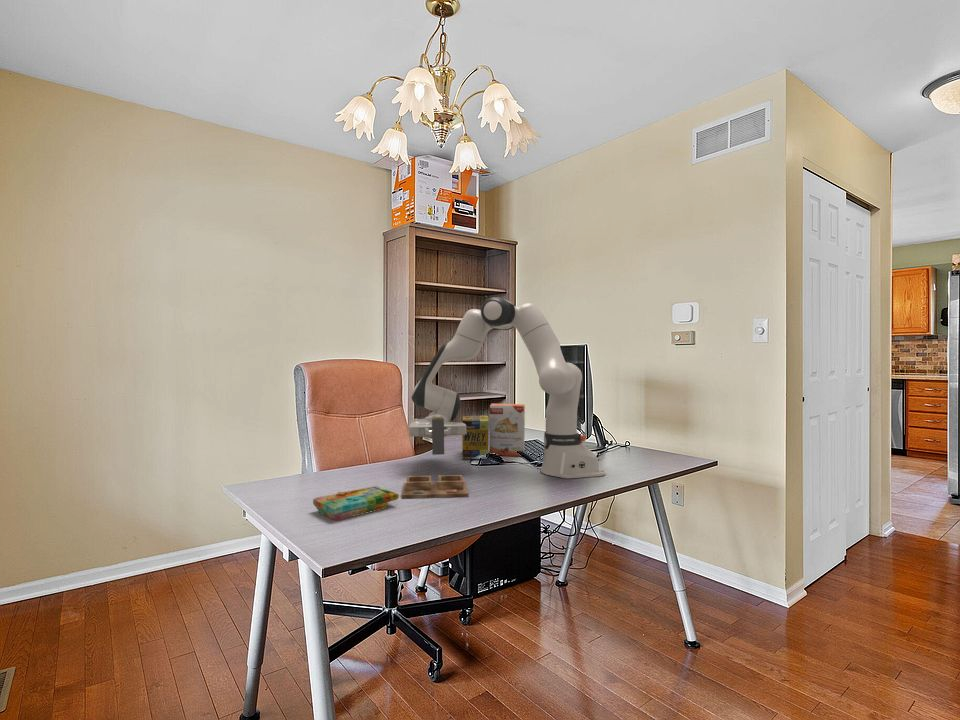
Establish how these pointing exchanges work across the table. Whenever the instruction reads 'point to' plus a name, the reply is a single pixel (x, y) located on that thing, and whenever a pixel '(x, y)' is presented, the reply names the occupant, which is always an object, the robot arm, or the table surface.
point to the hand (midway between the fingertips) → (437, 433)
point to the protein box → (475, 436)
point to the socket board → (434, 487)
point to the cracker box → (507, 429)
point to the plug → (437, 435)
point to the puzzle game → (354, 502)
